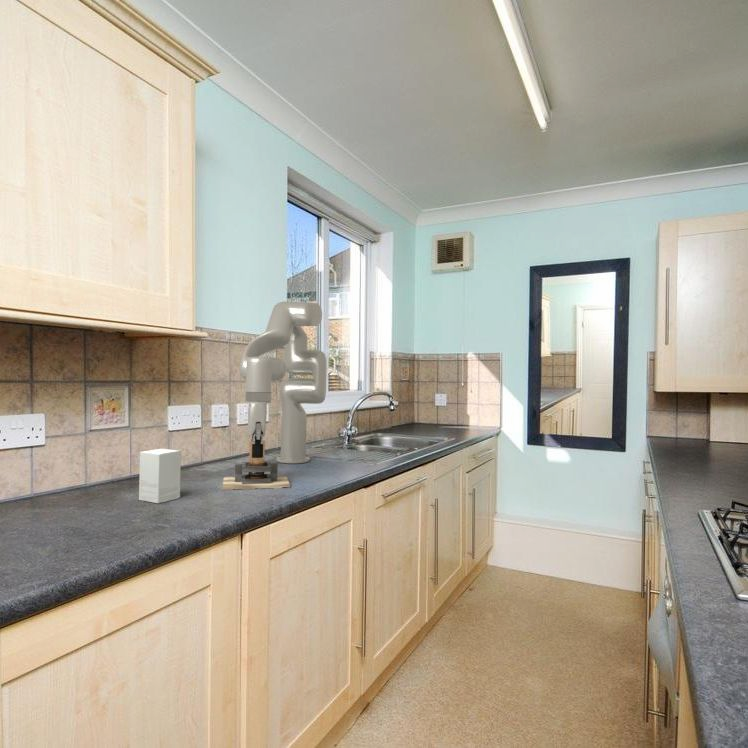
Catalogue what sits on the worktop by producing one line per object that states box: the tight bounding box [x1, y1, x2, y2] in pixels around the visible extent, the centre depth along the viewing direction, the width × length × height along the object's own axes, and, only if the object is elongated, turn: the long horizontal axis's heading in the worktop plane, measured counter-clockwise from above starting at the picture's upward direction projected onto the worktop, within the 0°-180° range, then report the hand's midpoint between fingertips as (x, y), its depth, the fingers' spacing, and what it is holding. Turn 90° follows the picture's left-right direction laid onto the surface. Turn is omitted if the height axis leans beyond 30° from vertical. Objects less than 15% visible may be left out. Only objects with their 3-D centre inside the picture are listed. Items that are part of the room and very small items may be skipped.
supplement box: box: [138, 448, 182, 504], centre depth 131 cm, size 7×7×13 cm
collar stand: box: [222, 461, 291, 491], centre depth 151 cm, size 13×19×6 cm
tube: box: [247, 439, 266, 479], centre depth 151 cm, size 5×5×12 cm
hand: (256, 454), depth 151 cm, fingers open, 9 cm apart
